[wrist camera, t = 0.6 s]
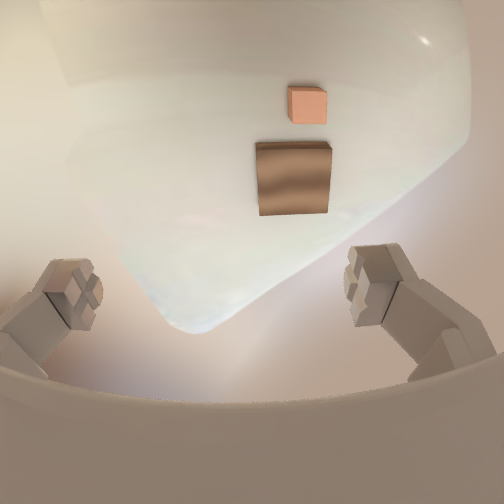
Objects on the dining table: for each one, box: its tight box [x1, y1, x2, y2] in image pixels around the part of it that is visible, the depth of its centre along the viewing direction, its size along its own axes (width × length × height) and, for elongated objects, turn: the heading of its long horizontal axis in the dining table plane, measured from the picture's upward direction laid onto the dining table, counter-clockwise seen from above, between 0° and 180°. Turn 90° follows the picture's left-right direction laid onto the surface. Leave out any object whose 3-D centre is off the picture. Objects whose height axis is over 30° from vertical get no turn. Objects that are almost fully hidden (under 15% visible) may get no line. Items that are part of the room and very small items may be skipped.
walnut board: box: [255, 142, 332, 216], centre depth 48 cm, size 12×12×4 cm
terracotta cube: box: [288, 87, 327, 124], centre depth 39 cm, size 5×5×5 cm
